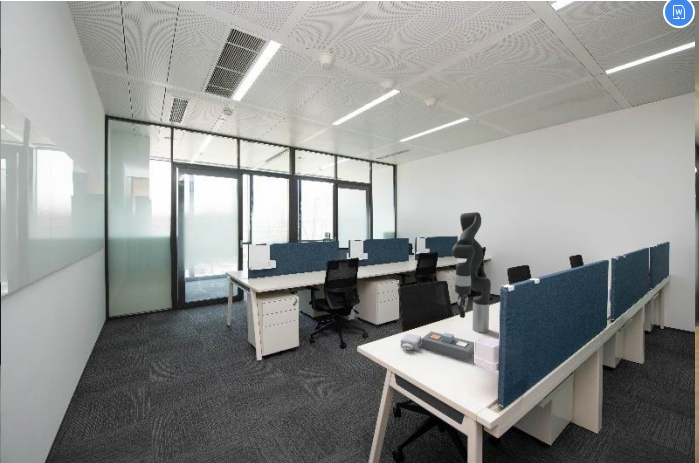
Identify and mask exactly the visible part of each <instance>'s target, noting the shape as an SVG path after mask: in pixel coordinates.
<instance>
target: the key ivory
mask: <svg viewBox="0 0 699 463" xmlns="http://www.w3.org/2000/svg"><path fill="white" fill-rule="evenodd" d="M456 345H457V346H461V347H464V348H466V347H467V346H468V343H464V342H460V341H458V342H457V343H456Z"/></svg>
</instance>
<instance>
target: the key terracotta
mask: <svg viewBox="0 0 699 463" xmlns="http://www.w3.org/2000/svg"><path fill="white" fill-rule="evenodd" d="M429 338H431V339H435V340H440V339H441V336H437V335H431V336H430V337H429Z"/></svg>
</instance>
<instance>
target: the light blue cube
mask: <svg viewBox="0 0 699 463" xmlns="http://www.w3.org/2000/svg"><path fill="white" fill-rule="evenodd" d="M442 334H443V335H442V342H446V343H450V344H452V343H453V342H454V337H455V334H452V333H449V332H444V333H442Z"/></svg>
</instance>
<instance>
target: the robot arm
mask: <svg viewBox="0 0 699 463" xmlns="http://www.w3.org/2000/svg"><path fill="white" fill-rule="evenodd" d="M459 219H460V227H461V231H462V232H461V234H460V236H459V239H458V240H457V242H456V243H455V244H454V245H453V247H452V248H451V254H452V256H453V257H454V258H456V259H461V260H462V259H463V260H466V261H465V262H459V263H456V265H455V277H454V278H455V279H454V292H455V293H456V294H458V295H457V301H456V307H457V309H458V311H459V317H460V318H461V319H464V318H465V317H466V310H467V309H468V305H469V299H470V297H469V296H468V295H471V292H472V291H474V292H478V293H481V295H480V296H479V295H478V296H477V295H476V296H474V297H473V298H472V330H473V331H474V332H477V333H483V334H484V333H485V334H486V333H489V330H490V299H491V289H492V287H491V286H492V283H491V279H490V278H488V277H484V276H483V277H481V276H479V275H478V271H479V268H480V266H481V264H482V263H483V261H484V252H483V246H482V245H481V244H480V243H479V242H478V240H476V238H475V237H476V235H477V233H478V231H479V230H480V228H481V226H482V216H481V214H480V212H477V211H476V212H474V211H473V212H466V213H462V214H460V216H459Z"/></svg>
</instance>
